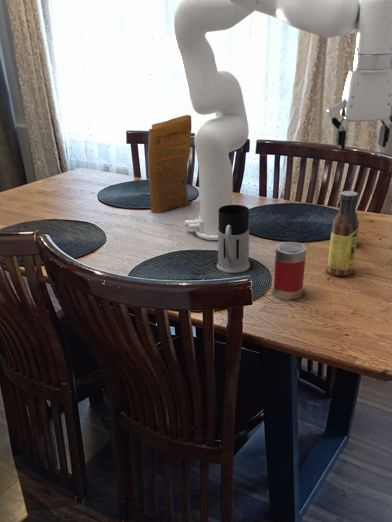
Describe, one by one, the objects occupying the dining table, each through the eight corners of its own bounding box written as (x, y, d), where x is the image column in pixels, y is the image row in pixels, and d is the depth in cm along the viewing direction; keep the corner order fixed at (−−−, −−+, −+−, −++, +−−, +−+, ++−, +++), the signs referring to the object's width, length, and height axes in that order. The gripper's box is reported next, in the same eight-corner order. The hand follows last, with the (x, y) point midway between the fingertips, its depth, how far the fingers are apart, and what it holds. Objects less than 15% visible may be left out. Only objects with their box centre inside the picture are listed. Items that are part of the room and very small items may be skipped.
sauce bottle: (352, 278, 131) (364, 198, 120) (326, 276, 132) (336, 197, 121) (351, 266, 136) (362, 189, 125) (326, 265, 137) (335, 188, 126)
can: (276, 300, 122) (278, 253, 116) (271, 287, 128) (273, 241, 121) (304, 299, 122) (309, 251, 116) (299, 286, 128) (302, 240, 122)
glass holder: (252, 259, 141) (253, 204, 133) (244, 283, 130) (245, 224, 122) (220, 257, 143) (219, 203, 135) (209, 281, 132) (208, 223, 123)
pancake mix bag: (200, 202, 182) (198, 114, 166) (156, 216, 172) (149, 124, 156) (187, 198, 186) (184, 112, 170) (143, 211, 176) (136, 121, 160)
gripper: (404, 59, 116) (391, 141, 126) (327, 63, 115) (319, 145, 125) (419, 63, 110) (404, 148, 119) (337, 67, 109) (328, 153, 119)
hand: (361, 147), depth 122 cm, fingers open, 9 cm apart
